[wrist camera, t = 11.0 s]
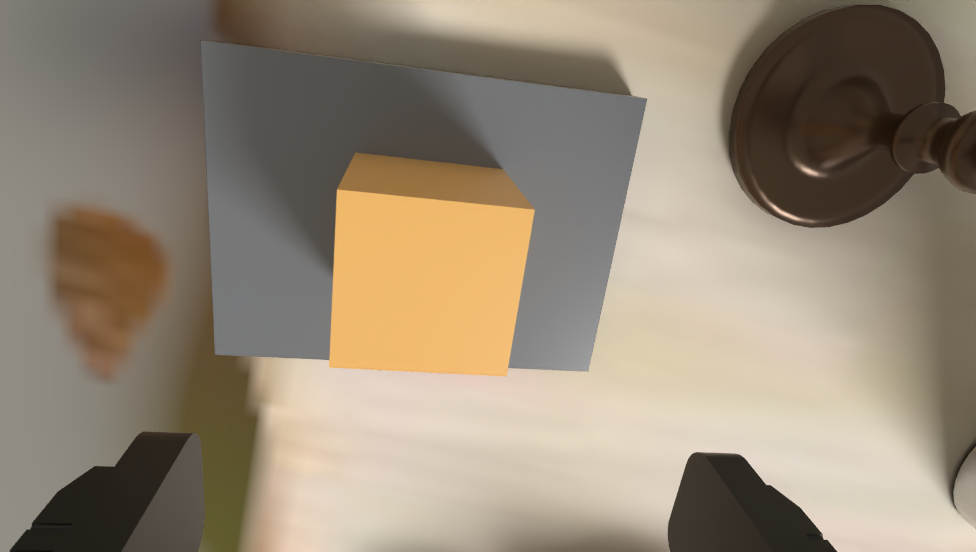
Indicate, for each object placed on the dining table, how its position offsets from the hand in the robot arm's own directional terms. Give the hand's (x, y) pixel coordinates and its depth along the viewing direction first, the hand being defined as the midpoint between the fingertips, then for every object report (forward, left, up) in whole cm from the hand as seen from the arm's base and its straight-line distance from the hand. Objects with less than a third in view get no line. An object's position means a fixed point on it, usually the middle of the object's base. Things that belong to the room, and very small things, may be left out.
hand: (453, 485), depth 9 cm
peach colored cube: (0, 0, -14) cm, 14 cm away
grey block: (0, 0, -16) cm, 16 cm away
